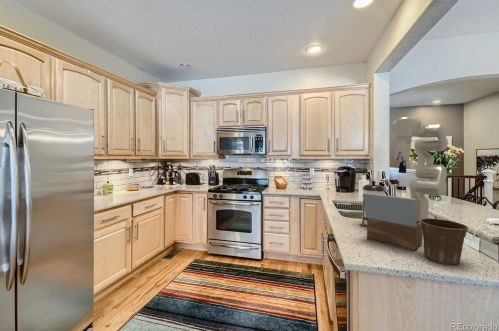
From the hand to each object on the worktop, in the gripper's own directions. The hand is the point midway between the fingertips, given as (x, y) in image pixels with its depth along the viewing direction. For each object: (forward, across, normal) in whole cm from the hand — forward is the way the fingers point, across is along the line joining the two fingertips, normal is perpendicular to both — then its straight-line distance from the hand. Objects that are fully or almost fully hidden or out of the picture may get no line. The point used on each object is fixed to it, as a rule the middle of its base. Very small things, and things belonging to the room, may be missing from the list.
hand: (402, 172), depth 129 cm
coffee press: (+37, -8, -18) cm, 42 cm away
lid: (+17, +21, 0) cm, 27 cm away
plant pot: (+36, +20, +21) cm, 46 cm away
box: (+36, +12, 0) cm, 38 cm away
